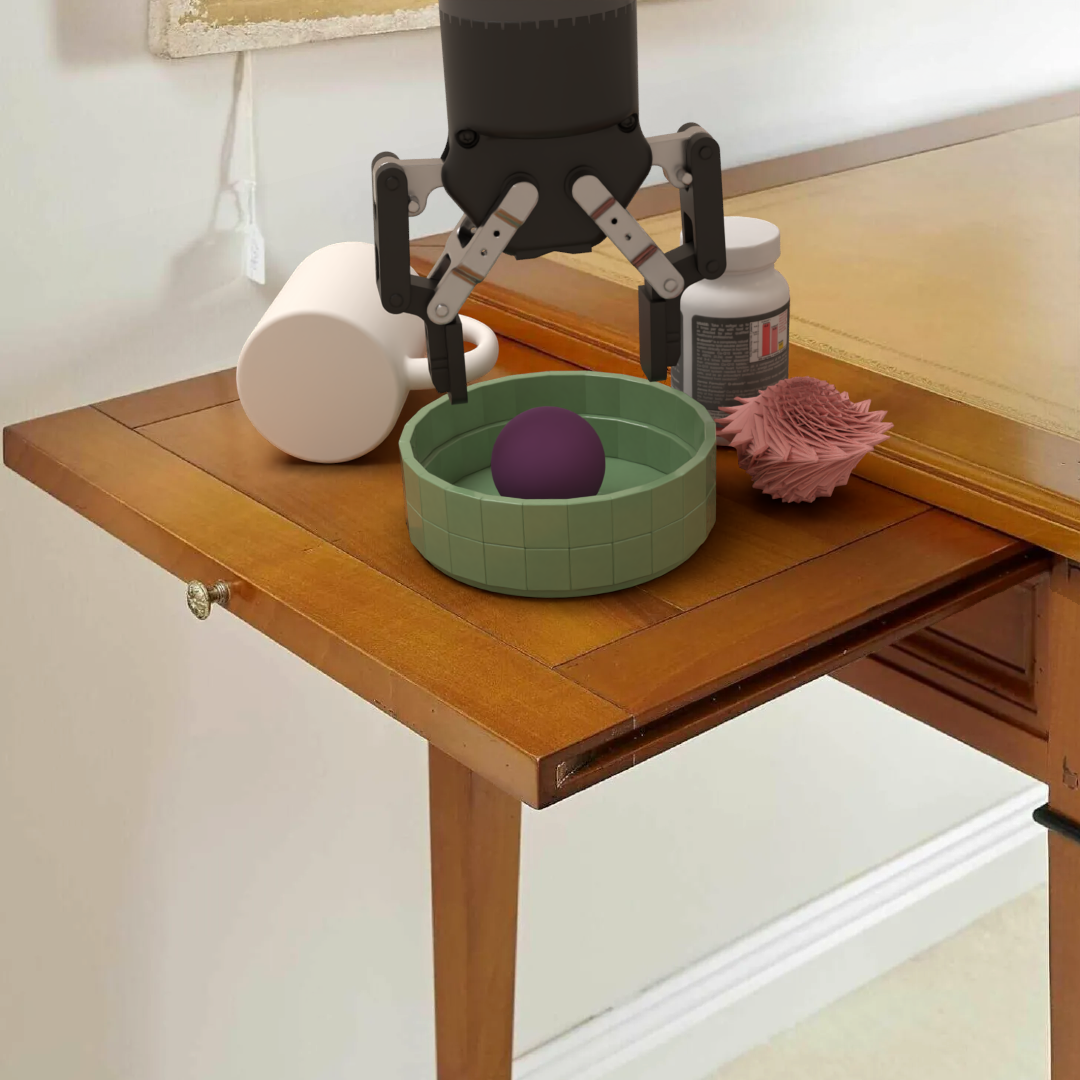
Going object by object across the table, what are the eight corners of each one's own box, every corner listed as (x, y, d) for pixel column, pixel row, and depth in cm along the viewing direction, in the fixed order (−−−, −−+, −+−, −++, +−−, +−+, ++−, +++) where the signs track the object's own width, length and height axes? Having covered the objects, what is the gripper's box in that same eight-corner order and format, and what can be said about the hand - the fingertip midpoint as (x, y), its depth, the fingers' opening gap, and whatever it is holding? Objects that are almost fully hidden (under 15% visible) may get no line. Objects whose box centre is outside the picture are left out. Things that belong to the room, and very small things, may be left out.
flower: (789, 441, 79) (793, 333, 76) (925, 493, 73) (934, 378, 71) (674, 495, 74) (673, 382, 72) (809, 554, 69) (814, 435, 66)
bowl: (672, 443, 79) (671, 356, 77) (753, 578, 67) (755, 481, 65) (393, 476, 77) (385, 388, 75) (427, 621, 66) (418, 522, 63)
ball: (602, 476, 74) (580, 377, 72) (626, 522, 70) (603, 417, 68) (497, 505, 74) (471, 407, 72) (514, 553, 70) (488, 449, 67)
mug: (246, 464, 79) (224, 309, 75) (294, 383, 88) (276, 240, 84) (491, 465, 78) (480, 308, 74) (514, 383, 87) (506, 238, 83)
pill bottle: (810, 422, 81) (817, 227, 76) (736, 460, 77) (739, 259, 72) (721, 392, 84) (723, 205, 80) (647, 428, 81) (644, 234, 76)
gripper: (357, 28, 57) (399, 443, 65) (747, -6, 59) (743, 401, 67) (341, -10, 64) (382, 372, 72) (694, -40, 66) (695, 336, 74)
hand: (556, 386), depth 70 cm, fingers open, 8 cm apart
